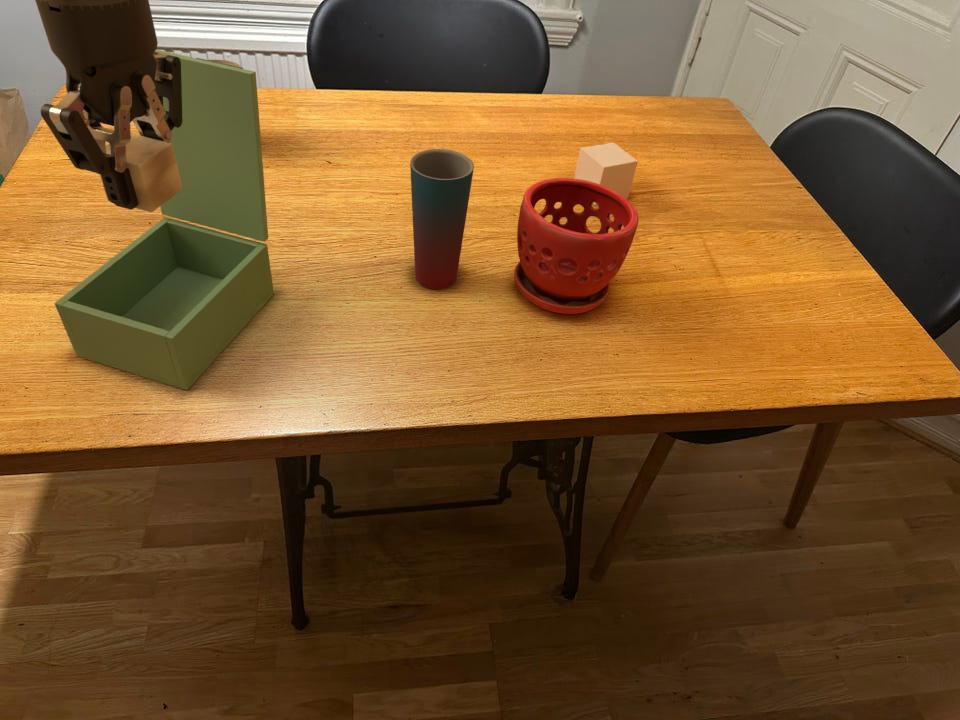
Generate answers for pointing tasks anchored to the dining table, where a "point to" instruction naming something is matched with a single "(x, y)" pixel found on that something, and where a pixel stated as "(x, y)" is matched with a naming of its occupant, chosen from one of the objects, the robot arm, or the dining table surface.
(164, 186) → the wooden block
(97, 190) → the dining table surface
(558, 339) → the dining table surface
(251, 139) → the lunchbox lid
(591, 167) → the beige cube
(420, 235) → the cup
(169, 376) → the box
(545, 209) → the flower pot
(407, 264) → the dining table surface
